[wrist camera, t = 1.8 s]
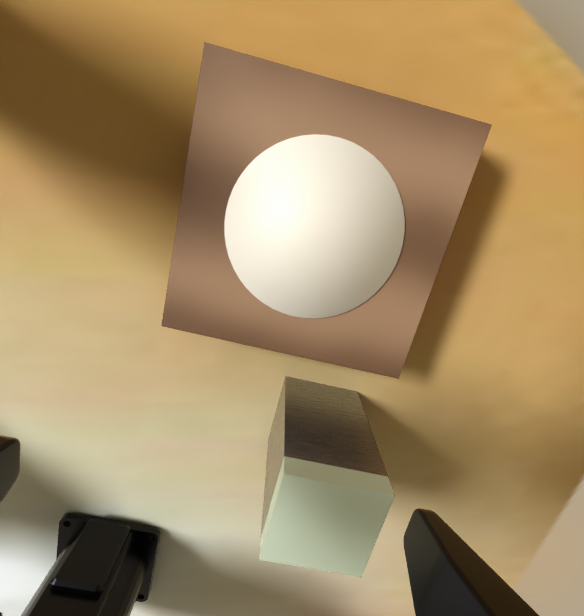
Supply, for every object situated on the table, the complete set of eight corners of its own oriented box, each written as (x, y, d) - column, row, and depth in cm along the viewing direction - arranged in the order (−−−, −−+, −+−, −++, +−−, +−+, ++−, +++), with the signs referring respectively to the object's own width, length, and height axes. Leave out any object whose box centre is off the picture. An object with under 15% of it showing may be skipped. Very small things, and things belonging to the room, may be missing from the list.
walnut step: (386, 355, 21) (402, 380, 18) (179, 308, 20) (160, 326, 17) (462, 137, 18) (497, 125, 15) (218, 68, 17) (204, 41, 14)
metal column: (337, 452, 23) (361, 577, 16) (268, 438, 23) (258, 559, 15) (357, 391, 22) (394, 495, 14) (285, 376, 22) (283, 473, 14)
